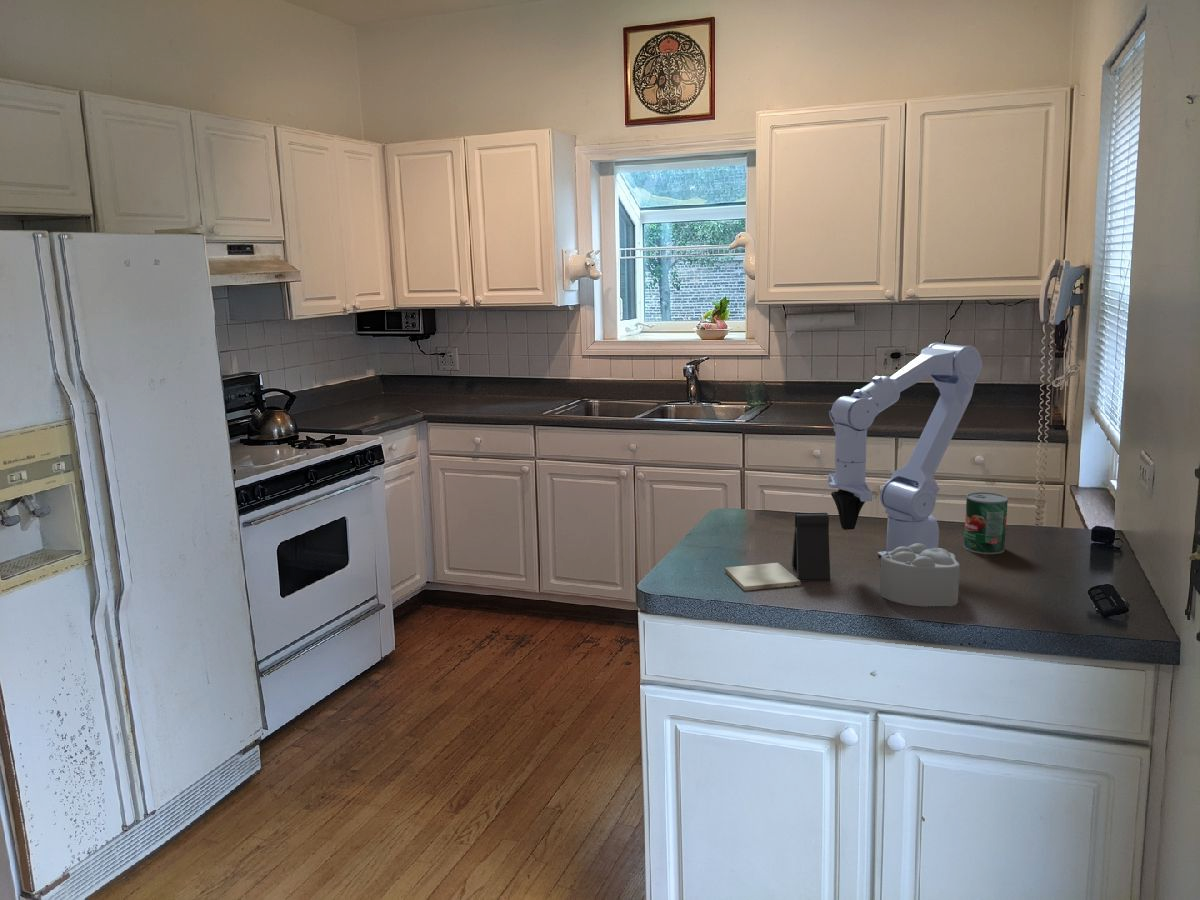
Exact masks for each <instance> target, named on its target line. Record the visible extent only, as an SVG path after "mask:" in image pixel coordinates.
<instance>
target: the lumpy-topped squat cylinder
mask: <svg viewBox="0 0 1200 900" xmlns="http://www.w3.org/2000/svg"><path fill="white" fill-rule="evenodd" d="M960 568H961V566H960V563H959V561H957V560H956V555H955V554H954V553H952V552H951V551H950V552H949V551H948V550H946V549H945V548H941V547H938V548H932V549H928V548H927V547H926V546H925V545H924V544H920V543H915V544H912V545H910V546H908V547H904V546H901V547H897V548H895V549H894V550H893V551H890V552H887V553H885V554H883V555H882V556H880V573H879V577H880V578H879V595H880V597H882V598H883V599H886V600H888V601H891V602H894V603H898V604H902V605H907V606H915V607H928V606H930V608H932V607H931V606H933V607H934V606H948V607H953V606H952V605H954V606H956V605H957V603H958V602H959V589H960V588H959V587H960ZM955 604H956V605H955ZM934 608H935V607H934Z"/></svg>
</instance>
